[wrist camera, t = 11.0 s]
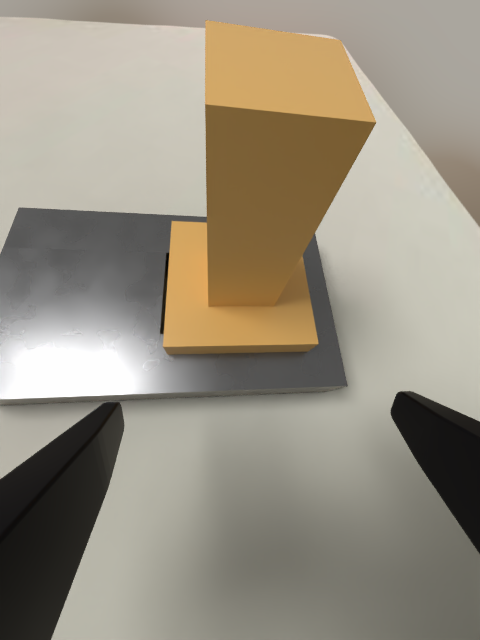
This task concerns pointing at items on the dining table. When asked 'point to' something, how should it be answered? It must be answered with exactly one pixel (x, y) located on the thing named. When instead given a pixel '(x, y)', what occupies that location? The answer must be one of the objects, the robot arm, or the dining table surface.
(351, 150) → the orange post
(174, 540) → the dining table surface
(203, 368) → the grey metal plate
